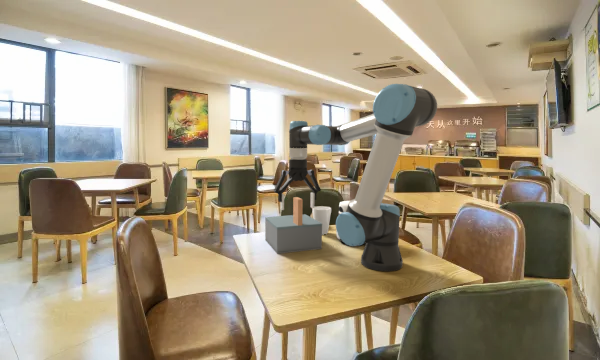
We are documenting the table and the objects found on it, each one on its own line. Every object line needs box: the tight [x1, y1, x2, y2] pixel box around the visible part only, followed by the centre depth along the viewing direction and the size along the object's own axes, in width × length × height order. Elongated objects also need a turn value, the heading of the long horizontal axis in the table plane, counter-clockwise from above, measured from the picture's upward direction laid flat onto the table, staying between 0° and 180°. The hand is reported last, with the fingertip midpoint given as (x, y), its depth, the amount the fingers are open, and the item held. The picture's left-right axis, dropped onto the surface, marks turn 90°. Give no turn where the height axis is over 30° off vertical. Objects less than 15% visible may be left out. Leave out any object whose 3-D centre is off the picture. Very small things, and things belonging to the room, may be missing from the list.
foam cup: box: [311, 205, 332, 236], centre depth 163 cm, size 10×9×13 cm
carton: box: [264, 219, 323, 254], centre depth 145 cm, size 20×20×10 cm
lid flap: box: [265, 196, 322, 230], centre depth 143 cm, size 20×20×12 cm
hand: (297, 208), depth 137 cm, fingers open, 13 cm apart
